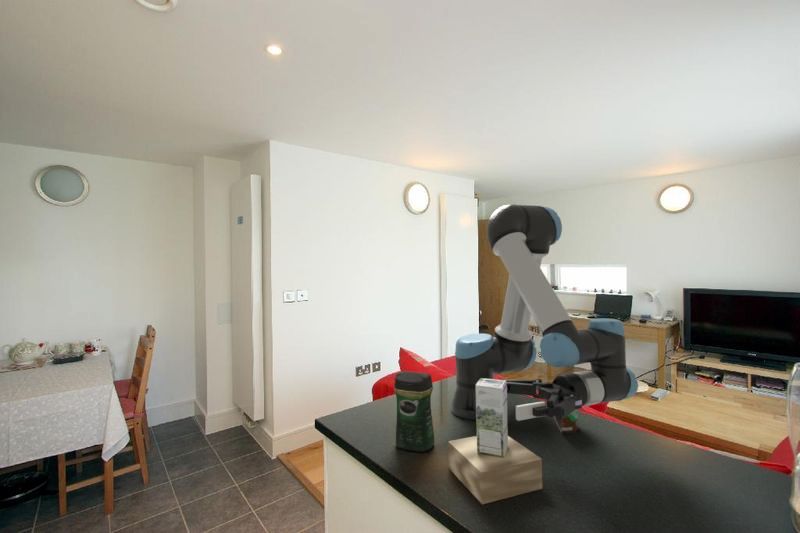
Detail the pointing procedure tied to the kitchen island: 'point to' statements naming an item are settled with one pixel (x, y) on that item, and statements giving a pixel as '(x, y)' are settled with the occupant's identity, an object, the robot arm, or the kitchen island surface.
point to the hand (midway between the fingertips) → (497, 401)
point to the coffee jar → (414, 411)
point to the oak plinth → (495, 470)
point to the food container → (568, 423)
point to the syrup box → (491, 417)
